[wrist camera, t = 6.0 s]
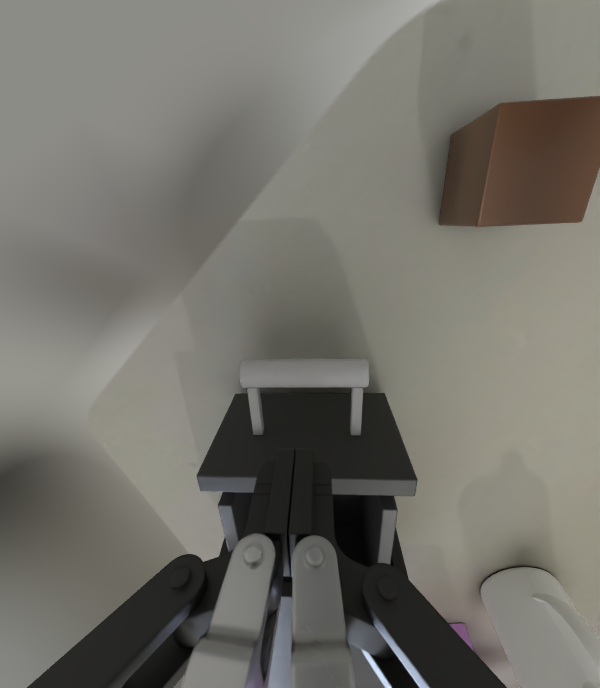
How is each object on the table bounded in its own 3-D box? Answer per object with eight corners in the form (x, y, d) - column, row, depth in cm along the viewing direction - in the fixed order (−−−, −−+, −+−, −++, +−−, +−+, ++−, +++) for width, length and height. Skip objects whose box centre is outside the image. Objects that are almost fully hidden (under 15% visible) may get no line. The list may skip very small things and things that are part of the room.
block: (438, 225, 17) (476, 226, 13) (451, 134, 16) (500, 102, 11) (517, 221, 17) (582, 222, 13) (540, 128, 15) (625, 93, 11)
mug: (550, 606, 32) (649, 770, 23) (476, 608, 33) (541, 766, 24) (570, 536, 28) (705, 706, 18) (483, 541, 29) (567, 704, 19)
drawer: (226, 333, 20) (175, 395, 13) (390, 330, 19) (432, 395, 12) (255, 518, 28) (233, 621, 21) (373, 522, 27) (392, 630, 20)
